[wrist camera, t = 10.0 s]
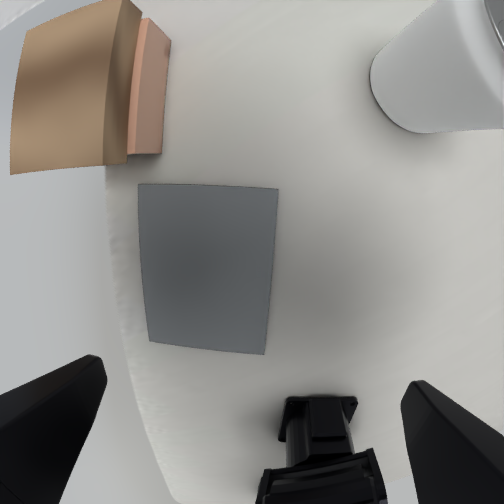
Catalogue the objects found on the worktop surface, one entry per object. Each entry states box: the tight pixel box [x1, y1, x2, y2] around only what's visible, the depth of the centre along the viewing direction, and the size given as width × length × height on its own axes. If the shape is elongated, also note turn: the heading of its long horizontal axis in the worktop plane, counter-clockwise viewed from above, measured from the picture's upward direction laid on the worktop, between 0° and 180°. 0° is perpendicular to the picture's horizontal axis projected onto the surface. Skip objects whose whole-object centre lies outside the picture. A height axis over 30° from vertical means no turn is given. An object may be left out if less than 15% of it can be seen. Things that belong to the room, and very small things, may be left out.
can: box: [370, 0, 504, 133], centre depth 9 cm, size 6×6×12 cm
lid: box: [10, 0, 142, 175], centre depth 11 cm, size 9×7×2 cm
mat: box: [138, 184, 278, 355], centre depth 20 cm, size 12×9×1 cm
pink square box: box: [127, 18, 171, 155], centre depth 15 cm, size 8×8×4 cm
